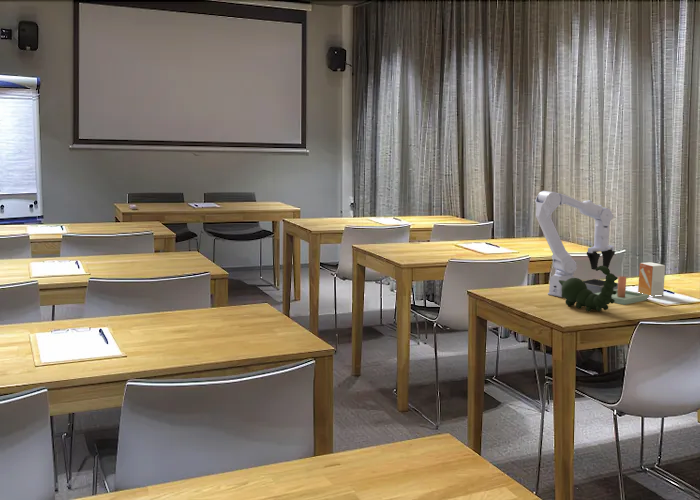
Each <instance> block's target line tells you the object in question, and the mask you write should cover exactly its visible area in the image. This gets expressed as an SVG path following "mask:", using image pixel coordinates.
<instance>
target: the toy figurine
mask: <svg viewBox="0 0 700 500" xmlns="http://www.w3.org/2000/svg"><path fill="white" fill-rule="evenodd" d="M595 271H596V272H598V271H601V272H602V274H604V275H605V280H604V287H603V288H602V290H601V293H600V294H599V295H597V294H593V292H592V291H591V290H589V289H587V286H586V284H585V283H584V282H583V281H584V280H582V279H580V278H578V277H573V278H570V279H568V280H566V281H563V280H559V283H560V284H561V285H562V297H561V298H564V300H565V301H564V302H565V305H566V306H569V307H573V306H575V307H576V308H577V309H582V307H585V311H586V312H591V311H597V312H601V311H607V310H608V309H609V305H610V304H615V303H614V302H615V300H614V299H612V295H613V294H614V295H615V294H616V291H615V290H613V288H614V287H616V286H617V283H618V282H615V281H618V276H616V275H615V274H614V273H612V272H611V269H610V268H609V267H608V268H607V267H606V266H603V265H599V266H597V268H596V270H595ZM610 272H611V273H610Z"/></svg>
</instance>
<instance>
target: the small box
mask: <svg viewBox="0 0 700 500" xmlns="http://www.w3.org/2000/svg"><path fill="white" fill-rule="evenodd" d="M638 274H639V275H638V286H637V287H638V289H637V293H638V292H640V293H643V294H647V295H651V296H655V295H663V296H664V293H665V292H664V291H665V289H664V288H665V277H666V276H665V274H666V265H665V264H660V263H656V262H651V261H650V262H649V261H647V262H640V263H639V273H638Z"/></svg>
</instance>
